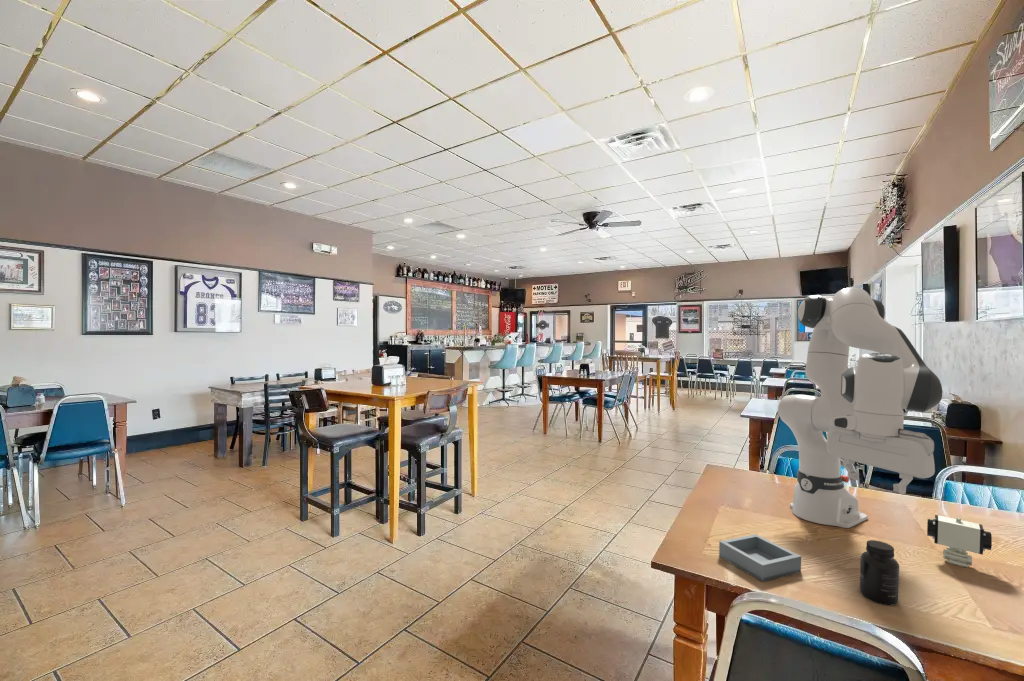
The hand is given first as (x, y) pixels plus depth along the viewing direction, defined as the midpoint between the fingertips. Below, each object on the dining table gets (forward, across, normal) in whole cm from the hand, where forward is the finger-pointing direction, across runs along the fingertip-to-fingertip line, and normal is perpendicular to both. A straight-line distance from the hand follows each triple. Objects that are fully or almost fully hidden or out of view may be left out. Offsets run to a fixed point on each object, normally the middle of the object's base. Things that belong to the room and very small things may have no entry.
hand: (875, 486), depth 102 cm
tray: (+25, +19, +12) cm, 34 cm away
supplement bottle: (+25, -1, -1) cm, 25 cm away
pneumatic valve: (+24, +2, -38) cm, 45 cm away
